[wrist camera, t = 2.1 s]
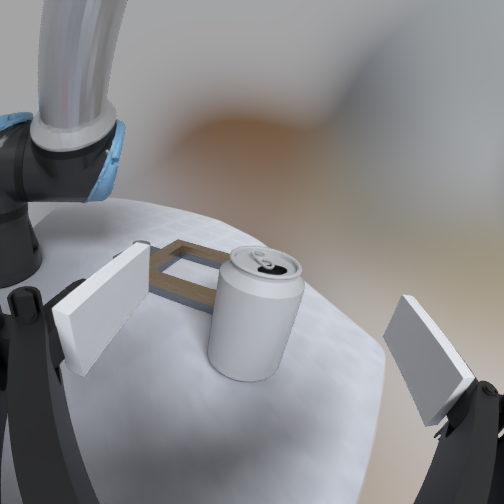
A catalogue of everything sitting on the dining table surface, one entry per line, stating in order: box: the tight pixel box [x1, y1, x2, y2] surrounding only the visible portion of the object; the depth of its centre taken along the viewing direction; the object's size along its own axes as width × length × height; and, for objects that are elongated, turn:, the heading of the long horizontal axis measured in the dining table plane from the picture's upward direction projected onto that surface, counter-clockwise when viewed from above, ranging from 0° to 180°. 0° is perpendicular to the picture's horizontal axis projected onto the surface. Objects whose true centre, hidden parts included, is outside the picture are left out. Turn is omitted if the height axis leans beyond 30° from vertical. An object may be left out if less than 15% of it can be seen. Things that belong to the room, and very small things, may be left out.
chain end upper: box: [149, 239, 230, 307], centre depth 41 cm, size 21×15×4 cm
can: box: [208, 246, 305, 382], centre depth 25 cm, size 8×8×12 cm
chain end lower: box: [113, 241, 222, 314], centre depth 42 cm, size 21×15×3 cm
